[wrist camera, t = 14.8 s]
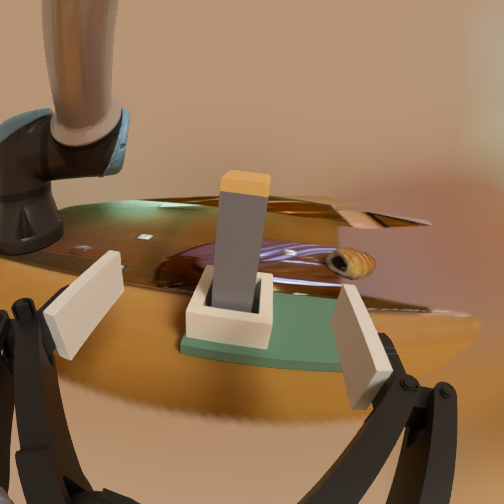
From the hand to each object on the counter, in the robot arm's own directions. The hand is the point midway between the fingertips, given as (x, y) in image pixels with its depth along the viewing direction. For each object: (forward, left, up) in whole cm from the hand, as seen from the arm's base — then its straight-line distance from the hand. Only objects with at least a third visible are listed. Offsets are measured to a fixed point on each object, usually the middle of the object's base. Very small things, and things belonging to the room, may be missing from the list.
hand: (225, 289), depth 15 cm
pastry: (+18, +27, -11) cm, 34 cm away
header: (0, +9, -9) cm, 13 cm away
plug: (0, +9, -9) cm, 13 cm away
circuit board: (+6, +10, -10) cm, 15 cm away
